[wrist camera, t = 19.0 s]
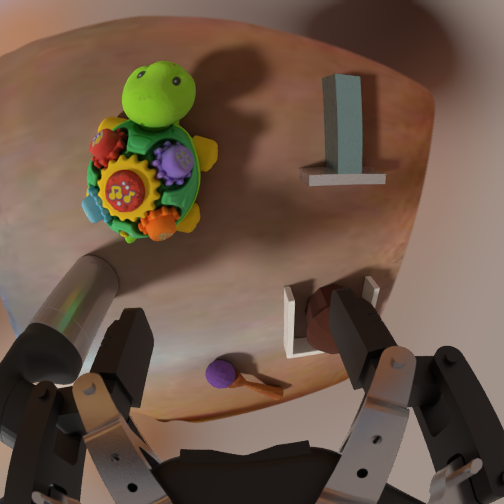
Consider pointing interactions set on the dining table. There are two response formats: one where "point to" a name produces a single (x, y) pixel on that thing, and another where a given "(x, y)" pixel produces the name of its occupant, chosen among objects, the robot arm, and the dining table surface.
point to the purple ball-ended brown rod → (236, 379)
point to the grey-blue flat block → (342, 137)
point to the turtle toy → (149, 158)
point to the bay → (301, 345)
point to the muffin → (320, 320)
